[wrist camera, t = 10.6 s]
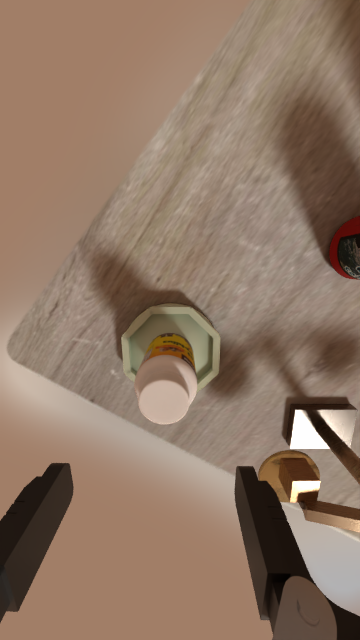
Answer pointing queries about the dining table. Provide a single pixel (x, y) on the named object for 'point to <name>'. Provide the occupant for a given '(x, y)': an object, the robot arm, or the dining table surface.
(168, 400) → the supplement bottle
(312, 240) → the dining table surface
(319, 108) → the dining table surface
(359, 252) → the beverage can
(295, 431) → the balance
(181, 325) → the dish
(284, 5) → the dining table surface
